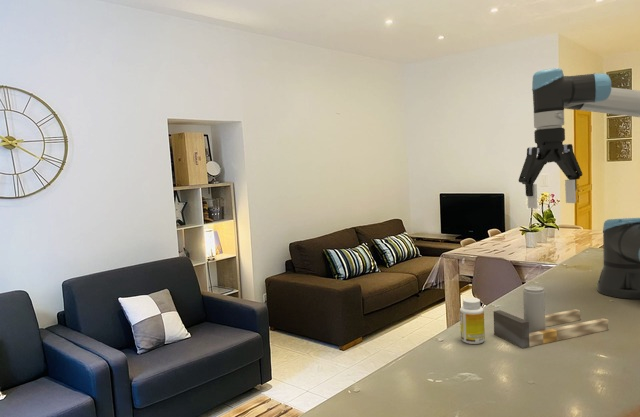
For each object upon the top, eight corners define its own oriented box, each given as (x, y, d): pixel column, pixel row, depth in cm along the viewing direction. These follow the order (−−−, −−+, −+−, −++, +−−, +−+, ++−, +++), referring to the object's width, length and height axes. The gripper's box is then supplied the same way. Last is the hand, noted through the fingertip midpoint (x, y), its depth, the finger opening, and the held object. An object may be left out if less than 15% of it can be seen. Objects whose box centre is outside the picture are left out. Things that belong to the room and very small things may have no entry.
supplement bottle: (489, 341, 117) (488, 300, 116) (472, 346, 115) (471, 304, 114) (473, 335, 122) (472, 295, 121) (456, 339, 120) (454, 299, 119)
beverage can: (547, 339, 117) (547, 290, 116) (526, 339, 118) (525, 290, 117) (542, 332, 121) (542, 285, 120) (522, 331, 122) (521, 285, 121)
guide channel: (575, 318, 130) (575, 296, 129) (608, 329, 120) (608, 306, 120) (494, 334, 122) (493, 311, 121) (522, 348, 112) (521, 322, 112)
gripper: (522, 129, 125) (526, 211, 127) (595, 124, 133) (597, 201, 135) (502, 131, 132) (506, 209, 134) (572, 126, 140) (575, 200, 142)
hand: (552, 205), depth 134 cm, fingers open, 13 cm apart
